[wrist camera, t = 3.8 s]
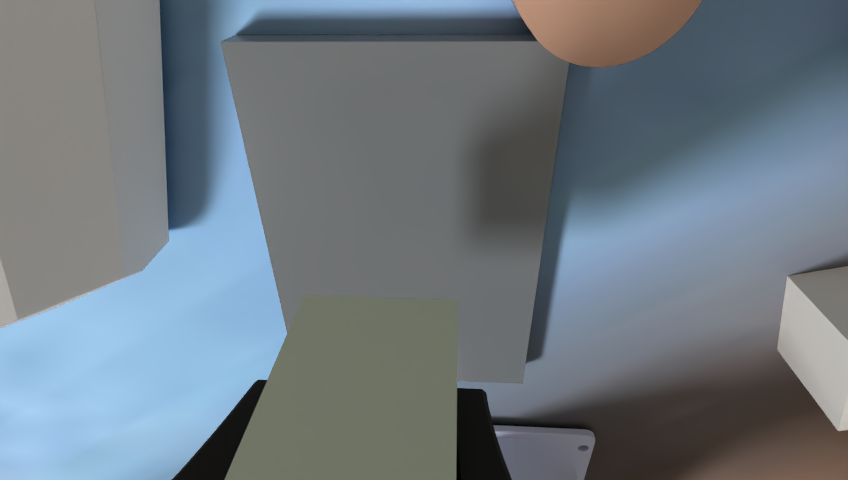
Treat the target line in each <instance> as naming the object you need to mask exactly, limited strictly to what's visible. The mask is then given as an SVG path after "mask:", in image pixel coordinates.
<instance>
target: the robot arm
mask: <svg viewBox="0 0 848 480" xmlns="http://www.w3.org/2000/svg"><path fill="white" fill-rule="evenodd" d="M266 382H267V380H257V381H256V382H255V383H254V384H253V385H252V386H251V388H250V389H249V390H248V391H247V393H246V394H245V395H244V396H243V398H242V399H241V400H240V401H239V403H238V404H237V405H236V406H235V408H234V409H233V410H232V411H231V412H230V414H229V415H228V416H227V417H226V419H225V420H224V421H223V422H222V423H221V425H220V426H219V427H218V428H217V429H216V431H215V432H214V433H213V434H212V435H211V436H210V438H209V439H208V440H207V441H206V442H205V443H204V444H203V446H202V447H201V448H200V449H199V450H198V451H197V452H196V454H195V455H194V456H193V457H192V458H191V459H190V460H189V462H188V463H187V464H186V465H185V466H184V467H183V468H182V469H181V471H180V472H179V473H178V474H177V475H176V476H175V477H174V478H173V479H172V480H225V477H226V475H227V473H228V470H229V468H230V466H231V463H232V461H233V459H234V456H235V454H236V452H237V449H238V447H239V445H240V443H241V440H242V438H243V436H244V433H245V431H246V429H247V426H248V424H249V422H250V419H251V417H252V415H253V412H254V410H255V408H256V405H257V403H258V401H259V398H260V396H261V394H262V392H263V389H264V387H265V385H266ZM594 444H595V437H594V434H593V432H591V431H590V430H586V429H567V428H545V427H524V426H502V425H493V423H492V419H491V415H490V411H489V406H488V401H487V395H486V392H485V391H483V390H482V389H465V388H457V454H456V480H584V478H585V475H586V471H587V468H588V464H589V461H590V458H591V454H592V451H593V448H594Z"/></svg>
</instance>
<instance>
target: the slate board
mask: <svg viewBox="0 0 848 480" xmlns="http://www.w3.org/2000/svg"><path fill="white" fill-rule="evenodd" d="M221 46H222V50H223V54H224V59H225V63H226V68H227V72H228V76H229V81H230V85H231V89H232V94H233V98H234V102H235V107H236V111H237V116H238V120H239V124H240V129H241V133H242V137H243V142H244V146H245V150H246V155H247V159H248V164H249V168H250V172H251V177H252V181H253V185H254V190H255V194H256V198H257V203H258V207H259V212H260V216H261V220H262V225H263V229H264V233H265V238H266V242H267V246H268V251H269V255H270V260H271V264H272V268H273V273H274V277H275V281H276V286H277V290H278V294H279V299H280V303H281V308H282V312H283V316H284V321H285V325H286V329H287V334H288V331H289V329H290V327H291V324H292V322H293V320H294V317H295V315H296V313H297V310H298V308H299V306H300V303H301V301H302V299H303V297H304V295H318V296H350V297H382V298H414V299H447V300H458V317H457V381H473V382H498V383H522V384H523V377H524V370H525V364H526V357H527V350H528V343H529V336H530V329H531V322H532V316H533V309H534V302H535V295H536V288H537V281H538V274H539V268H540V261H541V254H542V247H543V240H544V233H545V226H546V220H547V213H548V206H549V199H550V192H551V185H552V178H553V172H554V165H555V158H556V151H557V144H558V137H559V130H560V124H561V117H562V110H563V103H564V96H565V89H566V82H567V76H568V69H569V62H567V61H564V60H562V59H561V58H559V57H557V56H555V55H553V54H552V53H551V52H549V51H548V50H547V49H546V48H544V47H543V46H542V45H541V43H540V42H539V41H538V40H537V39H536V38H535V36H534V35H234V36H232V37H229V38H227V39H225V40H223V41H221Z"/></svg>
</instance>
